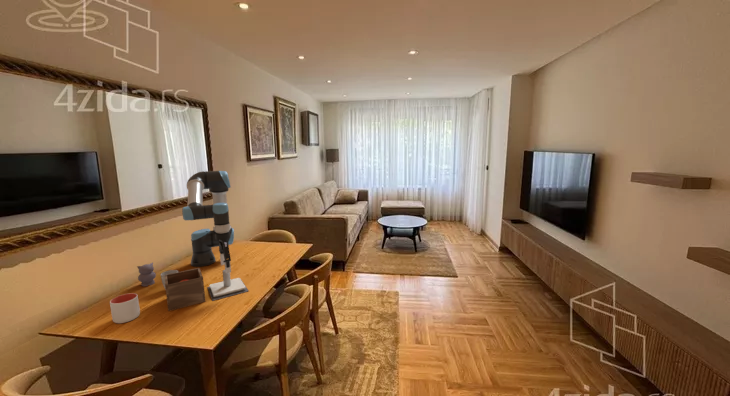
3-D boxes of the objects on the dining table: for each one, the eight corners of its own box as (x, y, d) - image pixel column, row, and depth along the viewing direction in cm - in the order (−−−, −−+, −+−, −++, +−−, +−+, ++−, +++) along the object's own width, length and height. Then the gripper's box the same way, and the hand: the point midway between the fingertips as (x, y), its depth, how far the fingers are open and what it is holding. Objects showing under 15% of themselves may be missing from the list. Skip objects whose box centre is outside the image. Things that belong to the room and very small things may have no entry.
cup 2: (183, 287, 168) (181, 270, 167) (169, 293, 160) (167, 276, 159) (172, 285, 171) (170, 269, 169) (159, 291, 163) (156, 274, 162)
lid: (209, 287, 167) (207, 269, 165) (239, 280, 176) (238, 263, 174) (214, 298, 154) (212, 279, 152) (246, 290, 163) (244, 271, 161)
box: (167, 298, 156) (164, 274, 154) (201, 289, 165) (199, 267, 163) (168, 311, 143) (165, 285, 141) (205, 301, 152) (203, 277, 150)
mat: (207, 287, 167) (207, 287, 167) (240, 279, 178) (240, 279, 178) (212, 300, 152) (212, 300, 152) (248, 291, 162) (248, 290, 162)
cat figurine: (140, 288, 168) (137, 268, 166) (137, 284, 173) (134, 265, 171) (158, 283, 174) (155, 264, 172) (155, 279, 179) (152, 261, 177)
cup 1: (123, 313, 141) (120, 293, 140) (145, 312, 142) (142, 292, 141) (107, 325, 131) (103, 304, 130) (130, 323, 132) (127, 303, 131)
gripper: (211, 227, 168) (214, 262, 171) (218, 238, 148) (222, 278, 151) (225, 225, 172) (228, 260, 176) (234, 235, 152) (238, 274, 155)
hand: (225, 268), depth 163 cm, fingers open, 13 cm apart
